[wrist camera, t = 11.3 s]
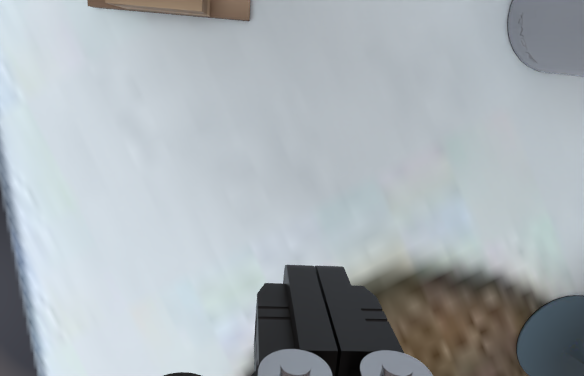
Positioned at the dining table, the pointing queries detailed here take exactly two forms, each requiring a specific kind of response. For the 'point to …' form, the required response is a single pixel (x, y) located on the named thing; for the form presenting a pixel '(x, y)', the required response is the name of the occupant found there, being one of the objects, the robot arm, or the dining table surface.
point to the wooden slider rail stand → (182, 7)
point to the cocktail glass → (554, 339)
